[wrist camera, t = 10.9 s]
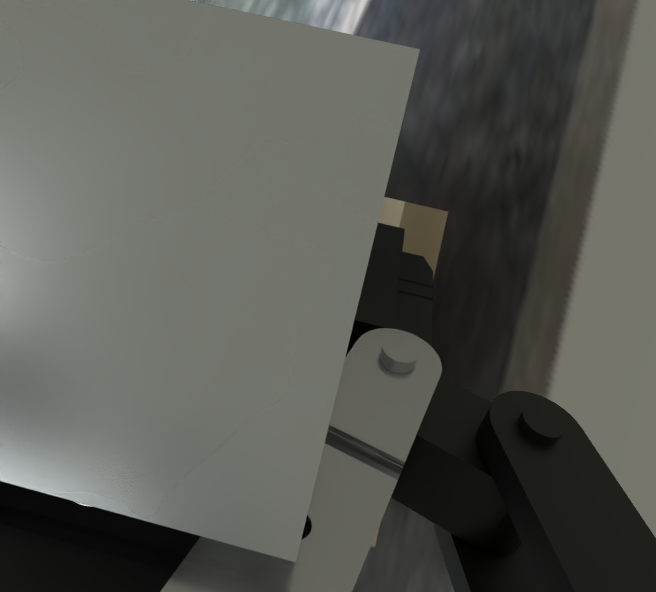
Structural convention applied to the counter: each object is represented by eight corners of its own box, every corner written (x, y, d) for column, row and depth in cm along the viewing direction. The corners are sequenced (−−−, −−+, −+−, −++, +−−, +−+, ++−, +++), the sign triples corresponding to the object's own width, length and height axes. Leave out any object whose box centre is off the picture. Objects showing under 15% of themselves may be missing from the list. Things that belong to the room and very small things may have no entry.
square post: (202, 388, 15) (-238, 415, 4) (237, 268, 16) (-37, -48, 4) (326, 420, 15) (295, 561, 3) (356, 296, 16) (420, 49, 4)
